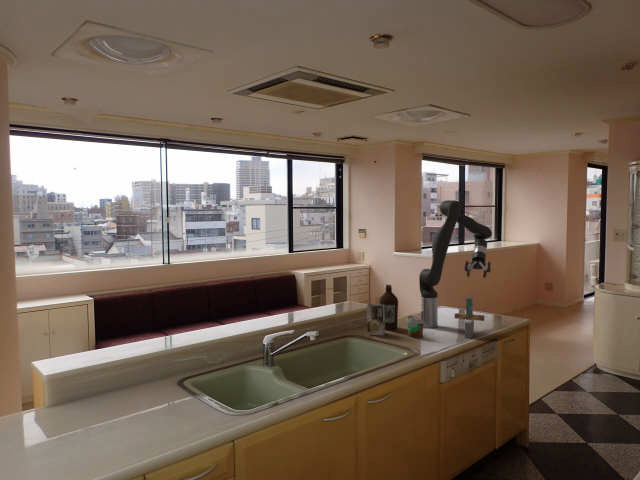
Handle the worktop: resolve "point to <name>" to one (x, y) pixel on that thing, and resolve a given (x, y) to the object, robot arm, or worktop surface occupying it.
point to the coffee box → (375, 319)
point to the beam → (469, 312)
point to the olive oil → (390, 308)
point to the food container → (415, 327)
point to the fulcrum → (469, 328)
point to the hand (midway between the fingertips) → (476, 276)
